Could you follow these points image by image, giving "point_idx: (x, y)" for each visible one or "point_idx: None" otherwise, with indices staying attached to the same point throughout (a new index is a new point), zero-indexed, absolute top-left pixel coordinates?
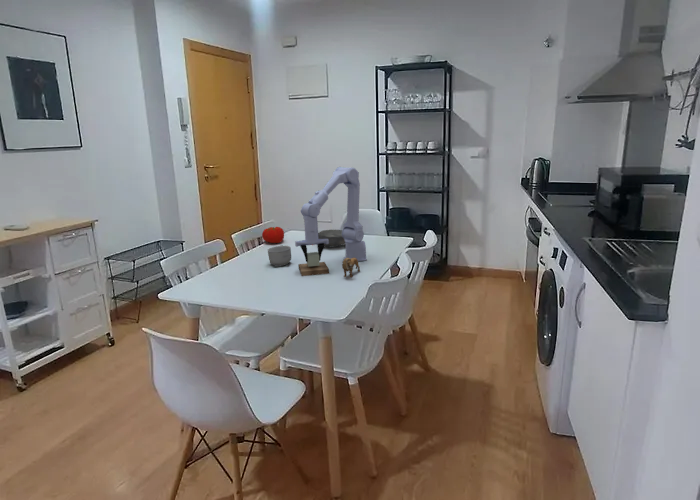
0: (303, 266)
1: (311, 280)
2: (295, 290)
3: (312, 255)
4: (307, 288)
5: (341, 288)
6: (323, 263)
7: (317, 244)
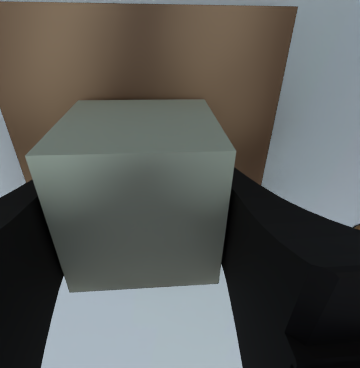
0: (48, 124)
1: (121, 291)
2: (53, 362)
3: (134, 284)
4: (102, 354)
5: (226, 363)
6: (262, 79)
7: (305, 287)
